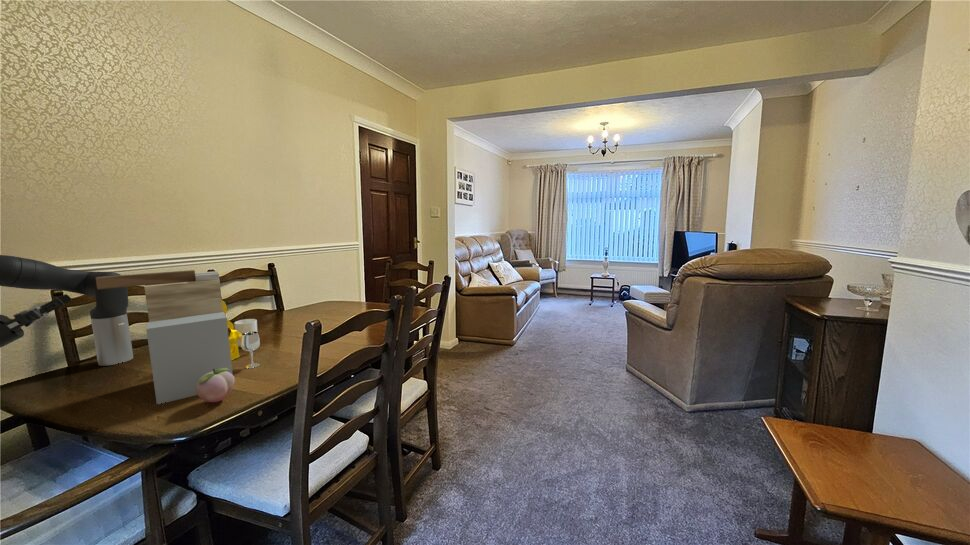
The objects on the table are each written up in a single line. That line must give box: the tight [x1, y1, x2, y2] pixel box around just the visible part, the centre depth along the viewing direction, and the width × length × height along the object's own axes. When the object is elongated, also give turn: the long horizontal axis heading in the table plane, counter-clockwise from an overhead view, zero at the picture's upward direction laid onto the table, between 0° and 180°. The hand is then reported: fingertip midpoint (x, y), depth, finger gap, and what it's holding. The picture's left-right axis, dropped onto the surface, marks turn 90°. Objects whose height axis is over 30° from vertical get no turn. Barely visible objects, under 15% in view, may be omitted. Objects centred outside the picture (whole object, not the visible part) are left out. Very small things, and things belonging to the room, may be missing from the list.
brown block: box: [96, 269, 220, 289], centre depth 114 cm, size 8×28×3 cm, turn 130°
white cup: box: [233, 318, 258, 348], centre depth 152 cm, size 8×8×10 cm
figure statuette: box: [222, 300, 242, 362], centre depth 136 cm, size 18×8×22 cm, turn 149°
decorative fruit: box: [195, 368, 236, 403], centre depth 104 cm, size 9×8×10 cm
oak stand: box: [144, 279, 223, 322], centre depth 119 cm, size 10×18×32 cm, turn 130°
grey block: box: [145, 312, 234, 405], centre depth 111 cm, size 9×18×22 cm, turn 130°
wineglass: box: [240, 331, 261, 369], centre depth 129 cm, size 6×6×12 cm
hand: (65, 299), depth 102 cm, fingers open, 8 cm apart
